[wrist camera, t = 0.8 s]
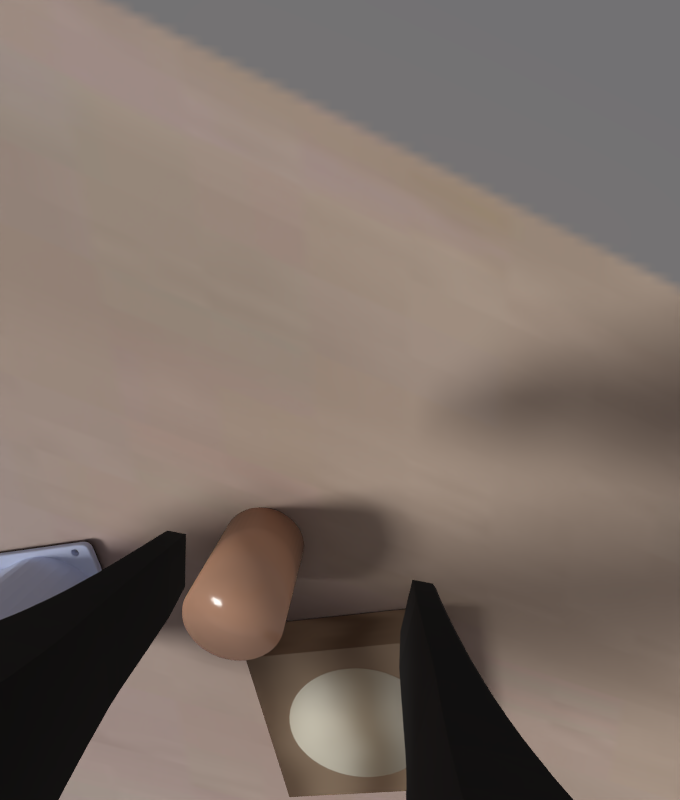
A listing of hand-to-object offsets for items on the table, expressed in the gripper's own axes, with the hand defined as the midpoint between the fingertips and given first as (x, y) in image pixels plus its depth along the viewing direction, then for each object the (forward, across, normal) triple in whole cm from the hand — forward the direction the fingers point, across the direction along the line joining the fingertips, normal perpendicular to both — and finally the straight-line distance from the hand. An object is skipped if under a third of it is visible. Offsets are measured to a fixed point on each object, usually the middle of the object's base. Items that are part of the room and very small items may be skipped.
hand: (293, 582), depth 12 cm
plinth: (+10, -4, +18) cm, 21 cm away
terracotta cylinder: (+11, +4, +8) cm, 14 cm away
